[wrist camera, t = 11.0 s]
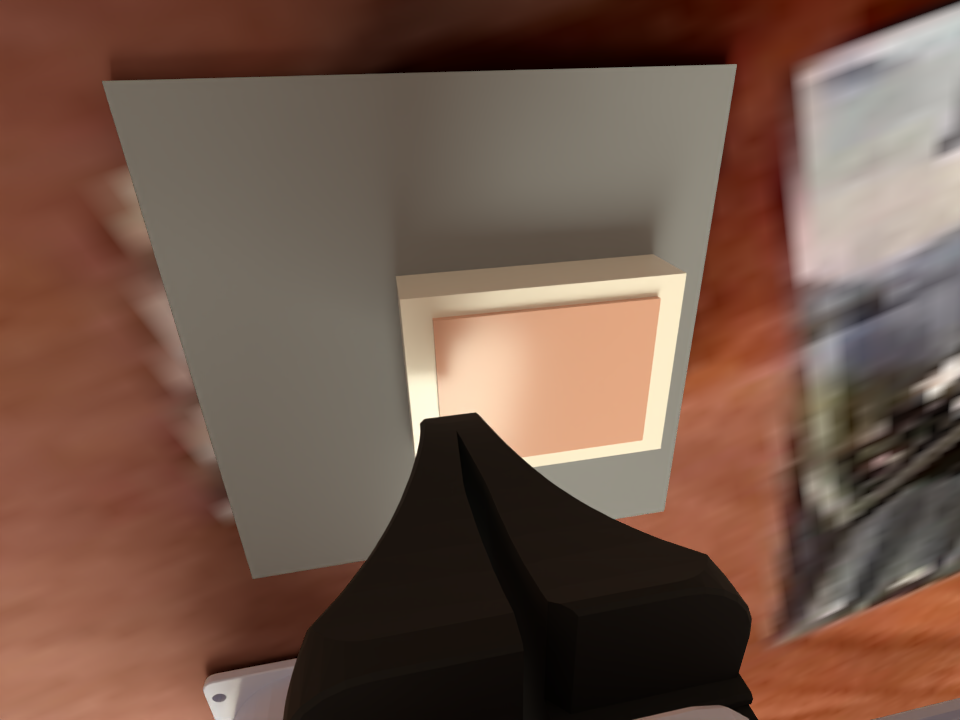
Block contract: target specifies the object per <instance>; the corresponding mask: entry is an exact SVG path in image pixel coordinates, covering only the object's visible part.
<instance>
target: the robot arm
mask: <svg viewBox="0 0 960 720" xmlns="http://www.w3.org/2000/svg"><path fill="white" fill-rule="evenodd" d="M751 621H752V618H751V615H750V611H749V608H748V606H747V604H746V603H745V602H744V600H743V599H742V597H741V596H740V595H739V593H738V592H737V591H736V589H735V588H734V586H733V585H732V584H731V583H730V581H729V580H728V579H727V577H726V576H725V575H724V574H723V573H722V571H721V570H720V569H719V568H718V567H717V566H716V565H715V564H714V562H713V561H712V560H711V559H710V558H709V557H708V555H706V554H703V553H700V552H697V551H694V550H691V549H688V548H685V547H682V546H679V545H676V544H673V543H670V542H667V541H664V540H661V539H659V538H656V537H654V536H651V535H649V534H646V533H644V532H642V531H639V530H637V529H634V528H632V527H630V526H628V525H625V524H623V523H621V522H619V521H617V520H615V519H613V518H611V517H609V516H607V515H605V514H603V513H601V512H599V511H597V510H596V509H594V508H592V507H590V506H588V505H586V504H585V503H583V502H581V501H579V500H578V499H576V498H575V497H573V496H572V495H570V494H568V493H567V492H565V491H564V490H562V489H561V488H559V487H558V486H556V485H555V484H553V483H552V482H551V481H549V480H548V479H547V478H545V477H544V476H543V475H542V474H540V473H539V472H538V471H537V470H535V469H534V468H533V467H532V466H531V465H529V464H528V463H527V462H526V461H525V460H524V459H523V458H521V457H520V456H519V455H518V454H517V453H516V452H515V451H514V450H513V449H512V448H511V447H510V446H508V445H507V444H506V443H505V442H504V441H503V440H502V439H501V438H500V437H499V436H498V435H497V433H496V432H495V431H494V430H493V429H492V428H491V427H490V426H489V425H488V424H487V423H486V422H485V421H484V419H483V418H482V417H481V416H480V415H479V414H477V413H476V412H474V413H466V414H458V415H450V416H442V417H434V418H427V419H424V420H423V421H422V422H421V423H420V440H419V445H418V450H417V454H416V458H415V461H414V464H413V468H412V471H411V474H410V477H409V480H408V482H407V485H406V487H405V490H404V492H403V495H402V497H401V500H400V502H399V504H398V506H397V508H396V511H395V513H394V515H393V517H392V518H391V520H390V522H389V524H388V526H387V528H386V530H385V531H384V533H383V535H382V536H381V538H380V540H379V541H378V543H377V545H376V546H375V548H374V549H373V551H372V552H371V554H370V556H369V557H368V558H367V560H366V561H365V563H364V564H363V565H362V567H361V568H360V569H359V571H358V572H357V573H356V575H355V576H354V577H353V579H352V580H351V581H350V583H349V584H348V585H347V586H346V588H345V589H344V590H343V592H342V593H341V594H340V595H339V596H338V597H337V599H336V600H335V601H334V602H333V603H332V604H331V605H330V606H329V607H328V608H327V609H326V611H325V612H324V613H323V614H322V615H321V616H320V617H319V618H318V619H317V620H316V621H315V622H314V624H313V625H312V626H311V627H310V628H309V629H308V630H307V632H306V635H305V637H304V640H303V643H302V646H301V648H300V651H299V654H298V657H297V658H295V659H290V660H285V661H280V662H274V663H269V664H264V665H258V666H253V667H248V668H243V669H237V670H232V671H227V672H222V673H216V674H213V675H210V676H209V677H208V678H207V679H206V680H205V683H204V687H203V692H204V695H205V697H206V699H207V702H208V704H209V707H210V709H211V712H212V714H213V716H214V719H215V720H758V719H757V717H756V716H755V714H754V712H753V711H752V709H751V708H750V706H749V704H751V703H752V700H753V697H752V694H751V691H750V690H749V688H748V687H747V685H746V684H745V682H744V680H743V679H742V677H741V676H740V674H739V670H740V666H741V663H742V659H743V656H744V653H745V649H746V646H747V642H748V639H749V635H750V629H751ZM872 720H960V698H958V699H954V700H949V701H945V702H941V703H937V704H933V705H929V706H925V707H921V708H917V709H913V710H909V711H905V712H901V713H897V714H893V715H889V716H885V717H881V718H877V719H872Z"/></svg>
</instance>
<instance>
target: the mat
mask: <svg viewBox="0 0 960 720" xmlns="http://www.w3.org/2000/svg"><path fill="white" fill-rule="evenodd" d="M736 67H737V64H730V65H692V66H654V67H616V68H578V69H540V70H502V71H464V72H426V73H388V74H350V75H312V76H274V77H236V78H198V79H160V80H122V81H102V83H103V86H104V90H105V93H106V96H107V100H108V103H109V106H110V110H111V113H112V116H113V119H114V123H115V126H116V129H117V133H118V136H119V139H120V143H121V146H122V149H123V152H124V156H125V159H126V162H127V166H128V169H129V172H130V176H131V179H132V182H133V185H134V189H135V192H136V195H137V199H138V202H139V205H140V209H141V212H142V215H143V218H144V222H145V225H146V228H147V232H148V235H149V238H150V242H151V245H152V248H153V251H154V255H155V258H156V261H157V265H158V268H159V271H160V275H161V278H162V281H163V284H164V288H165V291H166V294H167V298H168V301H169V304H170V308H171V311H172V314H173V317H174V321H175V324H176V327H177V331H178V334H179V337H180V341H181V344H182V347H183V350H184V354H185V357H186V360H187V364H188V367H189V370H190V374H191V377H192V380H193V383H194V387H195V390H196V393H197V397H198V400H199V403H200V407H201V410H202V413H203V416H204V420H205V423H206V426H207V430H208V433H209V436H210V440H211V443H212V446H213V449H214V453H215V456H216V459H217V463H218V466H219V469H220V473H221V476H222V479H223V482H224V486H225V489H226V492H227V496H228V499H229V502H230V506H231V509H232V512H233V515H234V519H235V522H236V525H237V529H238V532H239V535H240V539H241V542H242V545H243V548H244V552H245V555H246V558H247V562H248V565H249V568H250V572H251V575H252V578H253V579H256V578H262V577H268V576H274V575H280V574H286V573H292V572H298V571H304V570H310V569H316V568H322V567H328V566H334V565H340V564H347V563H353V562H359V561H365V560H367V558H368V557H369V556H370V554H371V552H372V551H373V549H374V548H375V546H376V545H377V543H378V541H379V540H380V538H381V536H382V535H383V533H384V531H385V530H386V528H387V526H388V524H389V522H390V520H391V518H392V517H393V515H394V513H395V511H396V508H397V506H398V504H399V502H400V500H401V497H402V495H403V492H404V490H405V487H406V485H407V482H408V480H409V477H410V474H411V471H412V468H413V464H414V461H415V458H414V451H413V443H412V433H411V423H410V413H409V403H408V393H407V383H406V374H405V364H404V354H403V344H402V334H401V324H400V314H399V305H398V295H397V285H396V276H403V275H415V274H427V273H439V272H450V271H462V270H474V269H486V268H497V267H509V266H521V265H533V264H544V263H556V262H568V261H579V260H591V259H603V258H615V257H626V256H638V255H650V254H654V255H655V256H657V257H659V258H661V259H662V260H664V261H666V262H668V263H669V264H671V265H673V266H675V267H677V268H678V269H680V270H682V271H684V272H685V273H687V274H686V281H685V288H684V295H683V301H682V308H681V315H680V321H679V328H678V335H677V342H676V348H675V355H674V362H673V368H672V375H671V382H670V389H669V395H668V402H667V409H666V416H665V422H664V429H663V436H662V442H661V449H655V450H648V451H641V452H634V453H627V454H621V455H614V456H607V457H600V458H593V459H586V460H579V461H573V462H566V463H559V464H552V465H545V466H538V467H533V468H534V469H535V470H537V471H538V472H539V473H540V474H542V475H543V476H544V477H545V478H547V479H548V480H549V481H551V482H552V483H553V484H555V485H556V486H558V487H559V488H561V489H562V490H564V491H565V492H567V493H568V494H570V495H572V496H573V497H575V498H576V499H578V500H579V501H581V502H583V503H585V504H586V505H588V506H590V507H592V508H594V509H596V510H597V511H599V512H601V513H603V514H605V515H607V516H609V517H611V518H613V519H619V518H625V517H631V516H637V515H643V514H649V513H655V512H661V511H664V508H665V502H666V496H667V490H668V484H669V478H670V472H671V465H672V459H673V453H674V447H675V441H676V435H677V429H678V423H679V416H680V410H681V404H682V398H683V392H684V386H685V380H686V373H687V367H688V361H689V355H690V349H691V343H692V337H693V331H694V324H695V318H696V312H697V306H698V300H699V294H700V288H701V282H702V275H703V269H704V263H705V257H706V251H707V245H708V239H709V232H710V226H711V220H712V214H713V208H714V202H715V196H716V190H717V183H718V177H719V171H720V165H721V159H722V153H723V147H724V140H725V134H726V128H727V122H728V116H729V110H730V104H731V98H732V91H733V85H734V79H735V73H736Z"/></svg>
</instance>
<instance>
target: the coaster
mask: <svg viewBox="0 0 960 720" xmlns="http://www.w3.org/2000/svg"><path fill="white" fill-rule="evenodd" d="M686 274H687V273H685V272H684V271H682V270H680V269H678V268H677V267H675V266H673V265H671V264H669V263H668V262H666V261H664V260H662V259H661V258H659V257H657V256H655V255H654V254H650V255H638V256H626V257H615V258H603V259H591V260H579V261H568V262H556V263H544V264H533V265H521V266H509V267H497V268H486V269H474V270H462V271H450V272H439V273H427V274H415V275H403V276H396V285H397V295H398V305H399V314H400V324H401V334H402V344H403V354H404V364H405V374H406V383H407V393H408V403H409V413H410V423H411V433H412V443H413V451H414V458H416V454H417V450H418V445H419V440H420V423H421V422H422V421H423V420H424V419H427V418H434V417H442V416H450V415H458V414H466V413H474V412H476V413H477V414H479V415H480V416H481V417H482V418H483V419H484V421H485V422H486V423H487V424H488V425H489V426H490V427H491V428H492V429H493V430H494V431H495V432H496V433H497V435H498V436H499V437H500V438H501V439H502V440H503V441H504V442H505V443H506V444H507V445H508V446H510V447H511V448H512V449H513V450H514V451H515V452H516V453H517V454H518V455H519V456H520V457H521V458H523V459H524V460H525V461H526V462H527V463H528V464H529V465H531V466H532V467H538V466H545V465H552V464H559V463H566V462H573V461H579V460H586V459H593V458H600V457H607V456H614V455H621V454H627V453H634V452H641V451H648V450H655V449H661V442H662V436H663V429H664V422H665V416H666V409H667V402H668V395H669V389H670V382H671V375H672V368H673V362H674V355H675V348H676V342H677V335H678V328H679V321H680V315H681V308H682V301H683V295H684V288H685V281H686Z"/></svg>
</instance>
